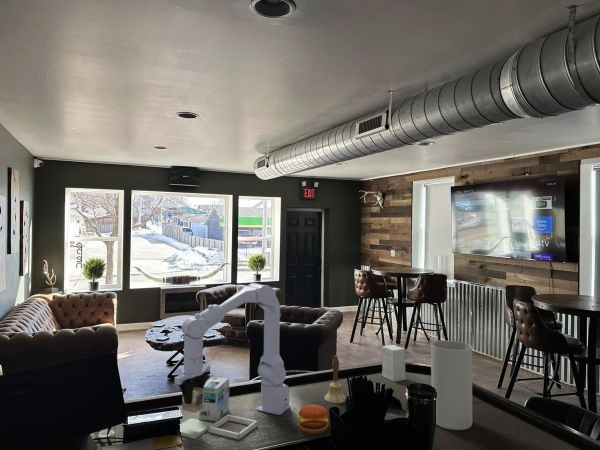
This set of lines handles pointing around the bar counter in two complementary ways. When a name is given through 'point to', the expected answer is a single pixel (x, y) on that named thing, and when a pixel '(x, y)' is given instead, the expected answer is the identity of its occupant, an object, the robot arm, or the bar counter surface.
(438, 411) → the cylinder vase
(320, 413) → the hamburger
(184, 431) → the board
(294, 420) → the bar counter surface
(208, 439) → the bar counter surface
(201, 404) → the ash block
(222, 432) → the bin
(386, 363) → the small box
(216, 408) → the light bulb box
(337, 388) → the hand bell
